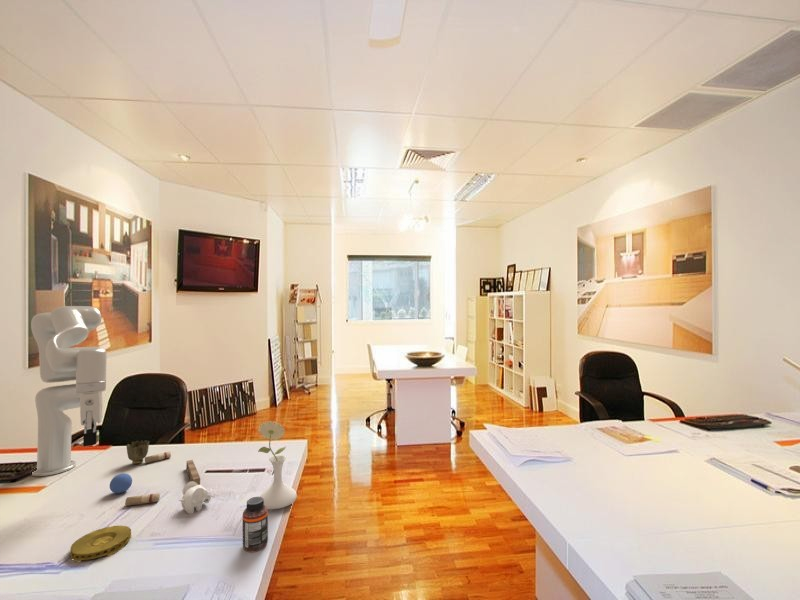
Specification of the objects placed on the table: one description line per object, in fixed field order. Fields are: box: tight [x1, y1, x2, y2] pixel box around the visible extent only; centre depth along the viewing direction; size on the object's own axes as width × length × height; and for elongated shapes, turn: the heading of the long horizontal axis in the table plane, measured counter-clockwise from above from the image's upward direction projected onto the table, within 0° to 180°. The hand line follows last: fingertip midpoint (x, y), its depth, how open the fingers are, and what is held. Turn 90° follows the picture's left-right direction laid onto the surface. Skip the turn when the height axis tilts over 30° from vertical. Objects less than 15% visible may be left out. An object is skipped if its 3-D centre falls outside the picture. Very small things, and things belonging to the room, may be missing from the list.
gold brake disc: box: [69, 525, 132, 562], centre depth 95 cm, size 12×12×2 cm
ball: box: [109, 472, 133, 494], centre depth 124 cm, size 6×6×6 cm
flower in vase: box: [257, 420, 298, 510], centre depth 116 cm, size 13×11×25 cm
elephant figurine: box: [178, 480, 215, 514], centre depth 113 cm, size 8×10×7 cm
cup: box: [125, 439, 150, 466], centre depth 148 cm, size 8×7×8 cm
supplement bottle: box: [242, 496, 269, 553], centre depth 94 cm, size 6×6×11 cm
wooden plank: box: [185, 459, 201, 485], centre depth 135 cm, size 20×2×3 cm, turn 36°
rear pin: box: [144, 451, 172, 465], centre depth 151 cm, size 2×2×8 cm
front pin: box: [124, 492, 160, 507], centre depth 116 cm, size 2×2×8 cm
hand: (90, 444), depth 120 cm, fingers closed
